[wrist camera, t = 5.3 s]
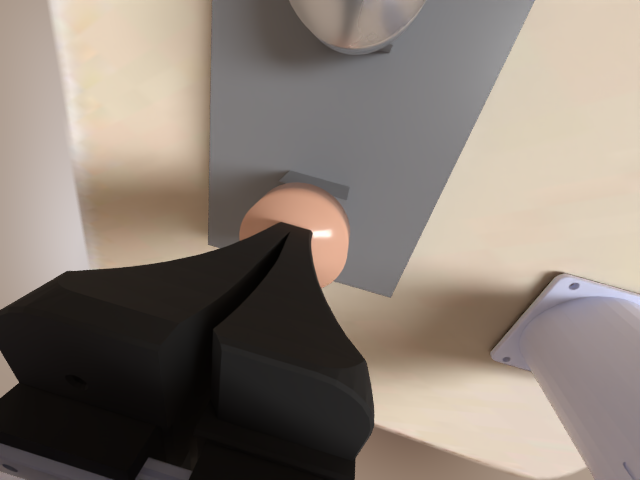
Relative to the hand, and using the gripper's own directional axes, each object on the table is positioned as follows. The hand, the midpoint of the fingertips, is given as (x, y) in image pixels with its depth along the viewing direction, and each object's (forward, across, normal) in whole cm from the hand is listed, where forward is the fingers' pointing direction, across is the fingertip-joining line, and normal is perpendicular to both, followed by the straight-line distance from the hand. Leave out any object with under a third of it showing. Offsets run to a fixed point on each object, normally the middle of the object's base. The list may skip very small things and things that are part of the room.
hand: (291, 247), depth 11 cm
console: (+6, 0, -4) cm, 8 cm away
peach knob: (+6, 0, 0) cm, 6 cm away
